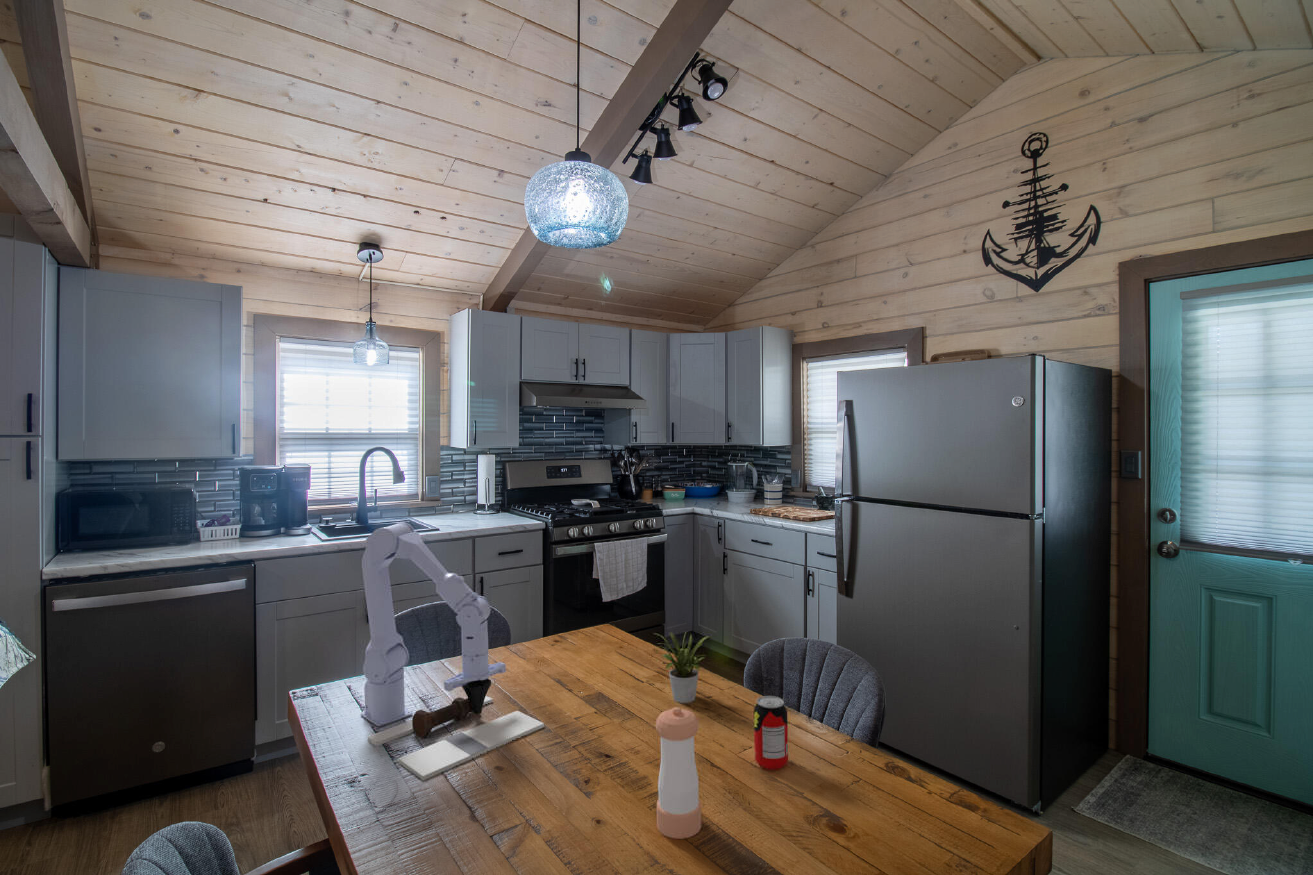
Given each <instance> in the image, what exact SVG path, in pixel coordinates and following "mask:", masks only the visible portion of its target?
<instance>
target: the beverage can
mask: <svg viewBox="0 0 1313 875" xmlns="http://www.w3.org/2000/svg"><path fill="white" fill-rule="evenodd" d="M753 727H754V728H753V729H754V730H753V732H754V733H753V734H754V735H753V736H754V738H753V740H754V744H753V745H754V759H755V761H756V763H757V764H758V765H759V766H760V767H762V768H763V769H766V770H771V771H776V770H780V769H782V768H783V767H785V766H786V765H787V764H788V761H789V741H788V740H789V734H788V728H789V727H788V710H787V708H786V706H785V702H784V700H783V699H782V698H781V697H779V696H775V695H763V696H761V697H758V698H757V699H756V704H755V706H754V708H753Z"/></svg>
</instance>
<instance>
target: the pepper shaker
mask: <svg viewBox="0 0 1313 875" xmlns="http://www.w3.org/2000/svg"><path fill="white" fill-rule="evenodd" d="M699 726H700V725H699V721H698V718H697V716H696V715H695V714H694V712H692V711H690V710H688V709H684V708H681V707H678V706H675V707H673V708H670V709H667V710H665V711H662V712H661V713H659V715H658V717H657V718H656V720H655V730H656V732H657V733H658V735H659V736H660V764H659V773H658V782H657V788H658V789H657V790H658V791H657V792H658V794H657V795H658V800H657V801H656V827H657V830H658V832H659V833H661V834H662V835H664V836H665V837H667V838H672V839H682V840H683V839H687V838H691V837H693V836H695V835H696V834H698V833H699V832H700V830H701V828H702V802H701V800H700V799H699V775H698V770H697V765H696V760H695V736H696V734H697V733H698V731H699Z"/></svg>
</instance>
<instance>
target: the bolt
mask: <svg viewBox="0 0 1313 875" xmlns="http://www.w3.org/2000/svg"><path fill="white" fill-rule="evenodd" d="M470 713H473V712H472V709H471V705H470V702H469V699H468V697H467V698H465V697H455V698H453V701H452V702H451V704H449V705H446V706H443V707H442V708H439V709H436V710H433V711H426V710H424V709H419V710H416V711H415V712H414V714H412V715H413V716H412V719H411V721H412V727H413V730H414V732H413V733H414V734H415V735H416V736H417V737H418V738H420V739H426V738H428V737H430V735H431V733H432V730H433V729H434V728H436V727H439V726H441V725H443V724H445V723H448V722H451V721H454V720H456V721H459V722H461V721H464V720H466V719H467V718H468V716H469V714H470Z"/></svg>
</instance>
